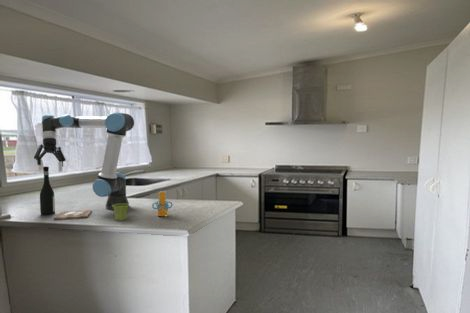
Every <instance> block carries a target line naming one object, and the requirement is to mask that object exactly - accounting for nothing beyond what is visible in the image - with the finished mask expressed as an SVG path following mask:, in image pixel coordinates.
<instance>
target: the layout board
mask: <svg viewBox="0 0 470 313" xmlns="http://www.w3.org/2000/svg"><path fill="white" fill-rule="evenodd" d="M92 211H93V210H92V209H85V210H70V211H68V210H67V211H60V212H59V213H58V214H57V215H56V216H54V217H53V221H62V220H74V219H75V220H77V219H87V218H89V216H90V215H91V213H92Z"/></svg>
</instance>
